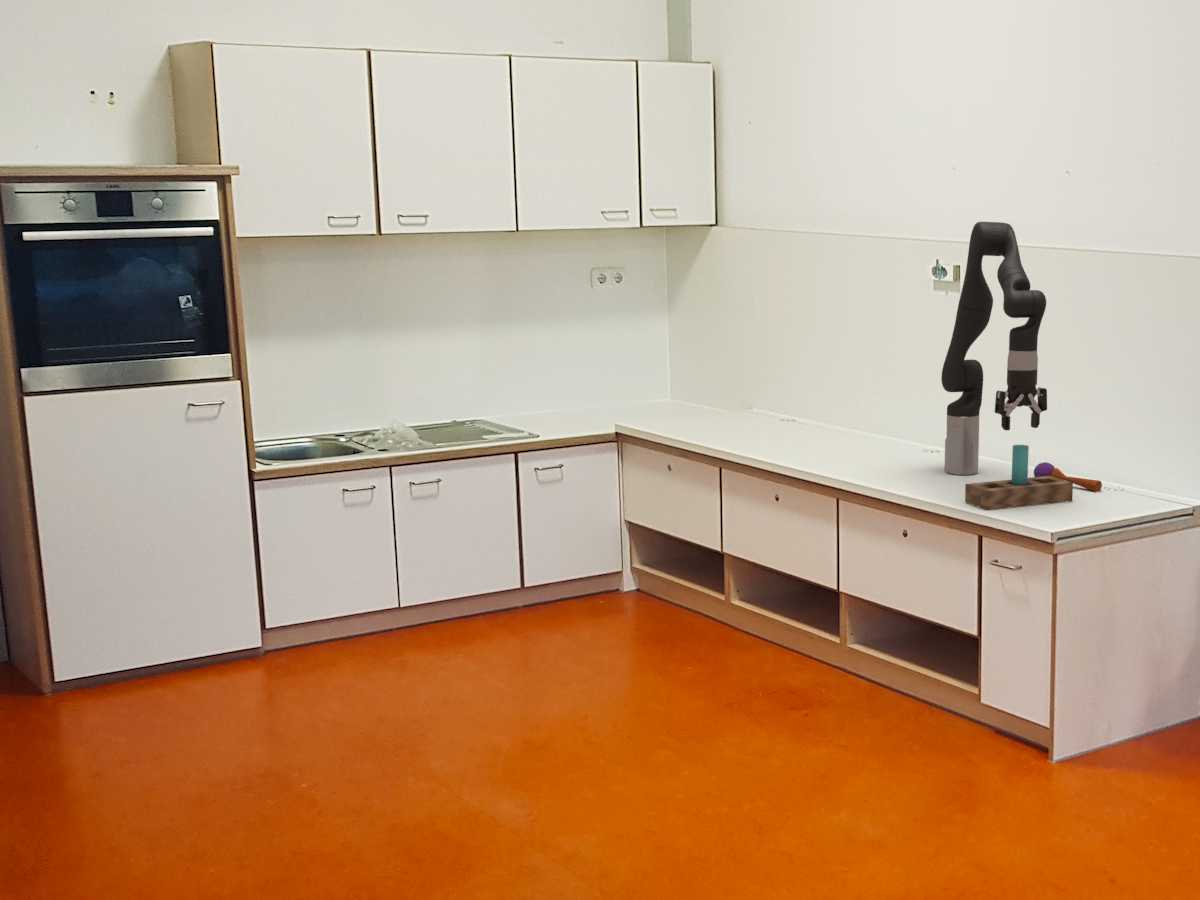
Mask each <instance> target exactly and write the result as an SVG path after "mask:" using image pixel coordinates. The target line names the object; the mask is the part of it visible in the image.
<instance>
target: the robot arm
mask: <svg viewBox="0 0 1200 900" xmlns="http://www.w3.org/2000/svg"><path fill="white" fill-rule="evenodd" d="M968 244H969V246H968V253H967V261H966V269H965V274H964V279H963V285H962V288H961V292H960V297H959V301H958V304H957V310H956V317H955V323H954V326H953V331H952V335H951V340H950V343H949V346H948V350H947V353H946V356H945V359H944V361H943V366H942V371H941V378H940V379H941V385H942V388H943V390H944V391H946V392H948V393H962V394H961V396H960V397H958V399H956V400H954V401H952V402H951V403H948V405H947V408H946V438H945V440H944V471H945V472H946V473H947V474H951V475H955V476H956V475H959V476H967V475H975V474H978V473H979V454H980V453H979V447H980V444H979V443H980V410H981V407H982V401H983V388H984V370H983V367H982V364H981V362H980V361H978V360H977V359H965V358H966V355H967V353H968V350H970V348H971V346H972V345H973V344H974V342H975V341H976V340H977V339H978V338H979V337H980V336H981V335H982V334H983V332H984V330H985V329H987V327H988V325H989V322H990V320H991V316H992V311H993V310H992V309H993V306H994V298H993V294H992V292H991V289H990V287H989V285H988V283H987V281H986V279H985V276H984V272H983V267H982V266H983V265H982V264H983V257H985V256H991V257H1000V256H1002V257H1003V258H1004V259H1003V260H1002V261H1001V263H1000V265H999V266H998V268H997V271H996V272H997V281H998V283H999V285H1000V287H1001V289H1002V293H1003V312H1004V313H1005V315H1006V316H1008V317H1009V318H1011V319H1019V318H1020V319H1022V318H1023V319H1025V318H1026V319H1027V318H1028V320H1027V321H1026V322H1025V324H1023V325H1019V326H1016V327H1012V328H1011V329H1010V331H1009V333H1008V334H1009V336H1008V338H1009V342H1008V355H1007V367H1006V368H1007V369H1006V373H1007V374H1006V385H1007V389H1006V391H1005V390H1004V391H1003V390H996V392H995V402H994V413H995V414H998V415H1000V416H1001V428H1002V429H1003V430H1004V431H1010V430H1011V416H1010V415H1011V413H1012V412H1013V411H1014V410H1015V409H1016V408H1017V407H1019V408H1020V407H1021V408H1022V407H1024V406H1025V407H1028V408H1029V410H1031V415H1030V428H1033V429H1036V428H1037V429H1038V428H1039V426H1040V423H1041V422H1040V420H1041V413H1042V412H1046V411H1047V410H1048V390H1047V388H1044V387H1041V386H1040V387H1039V386H1038V387H1036V386H1037V384H1038V369H1039V368H1038V367H1039V366H1038V365H1039V361H1038V360H1039V357H1038V338H1039V337H1038V336H1039V332H1040V327H1041V324H1042V321H1043V318H1044V317H1043V316H1044V314H1045V312H1046V307H1047V298H1046V296H1045V293H1044V292H1043V291H1041V290H1039V289H1038V290H1037V289H1036V290H1035V289H1033V290H1031V282H1030V280H1029V278H1028V276H1027V274H1026V272H1025V269H1024V267H1023V264H1022V261H1021V255H1020V250H1019V247H1018V246H1019V245H1018V241H1017V237H1016V233H1015V230H1014V228H1013V226H1012V225H1011V224H1010V223H1006V222H997V221H996V222H995V221H978V222H975V224H974V226H973V227H972V231H971V233H970V239H969V243H968ZM1036 396H1037V401H1036V399H1035V398H1036ZM1006 399H1007V400H1006Z"/></svg>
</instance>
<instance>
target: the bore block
mask: <svg viewBox="0 0 1200 900" xmlns="http://www.w3.org/2000/svg"><path fill="white" fill-rule="evenodd" d="M1011 483H1012V479H1003V480H995V481H994V480H993V481H984V482H983V481H982V482H973V483H965V485H964V488H965V489H964V490H965V491H964V494H965V495H964V503H965V502H967V503H966V504H968V503H970V504H969V505H971V504H973V505H975V506H974V507H976V506H979V507H981V508H980V509H982V508H983V509H982V510H985V509H986V510H985V511H992V509H993V510H999V509H1000V510H1001V508H1002V509H1009V508H1008V507H1012V508H1018V507H1017V506H1022V507H1026V506H1025V505H1031V506H1037V505H1036V504H1041V505H1045V504H1044V503H1050V504H1058V502H1060V503H1067V502H1066V501H1069V502H1073V490H1074V489H1073V488H1074V486H1073V484H1074V483H1072V482H1069V481H1066V480H1062V479H1059V478H1055V477H1052V476H1043V477H1035V476H1033V477H1028V479H1027V485H1021V486H1015V485H1012V484H1011ZM973 505H972V506H973ZM979 507H978V508H979Z"/></svg>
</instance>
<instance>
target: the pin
mask: <svg viewBox="0 0 1200 900" xmlns="http://www.w3.org/2000/svg"><path fill="white" fill-rule="evenodd" d="M1029 449H1030V448H1029V445H1026V444H1014V445H1012V455H1011V456H1012V458H1011V459H1012V460H1011V461H1012V462H1011V480H1012V483H1011V484H1012V485H1015V486H1021V485H1027V479H1028V478H1029V476H1028V473H1029V470H1028V469H1029Z"/></svg>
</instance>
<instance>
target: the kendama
mask: <svg viewBox="0 0 1200 900" xmlns="http://www.w3.org/2000/svg"><path fill="white" fill-rule="evenodd" d="M1043 476H1052V477H1055V478H1059V479H1062V480H1066V481H1069V482H1072V483H1073V484H1074V485H1076V486H1080V488H1083V489H1084V488H1085V489H1087V490H1089V491H1091V490H1092V492H1094V491H1095V493H1097V492H1096V491H1098V492H1100V491H1101V489H1102V486H1103V483H1102V480H1098V479H1091V478H1081V477H1073V476H1066V475H1065V473H1064V472H1062V471H1061V470H1060V469H1059V468H1057V467H1056V468H1055V465H1053V464H1052V463H1050V462H1046V461H1045V462H1040V463H1038V464H1037V465H1036V466H1035V467H1034V469H1033V477H1043Z"/></svg>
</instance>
